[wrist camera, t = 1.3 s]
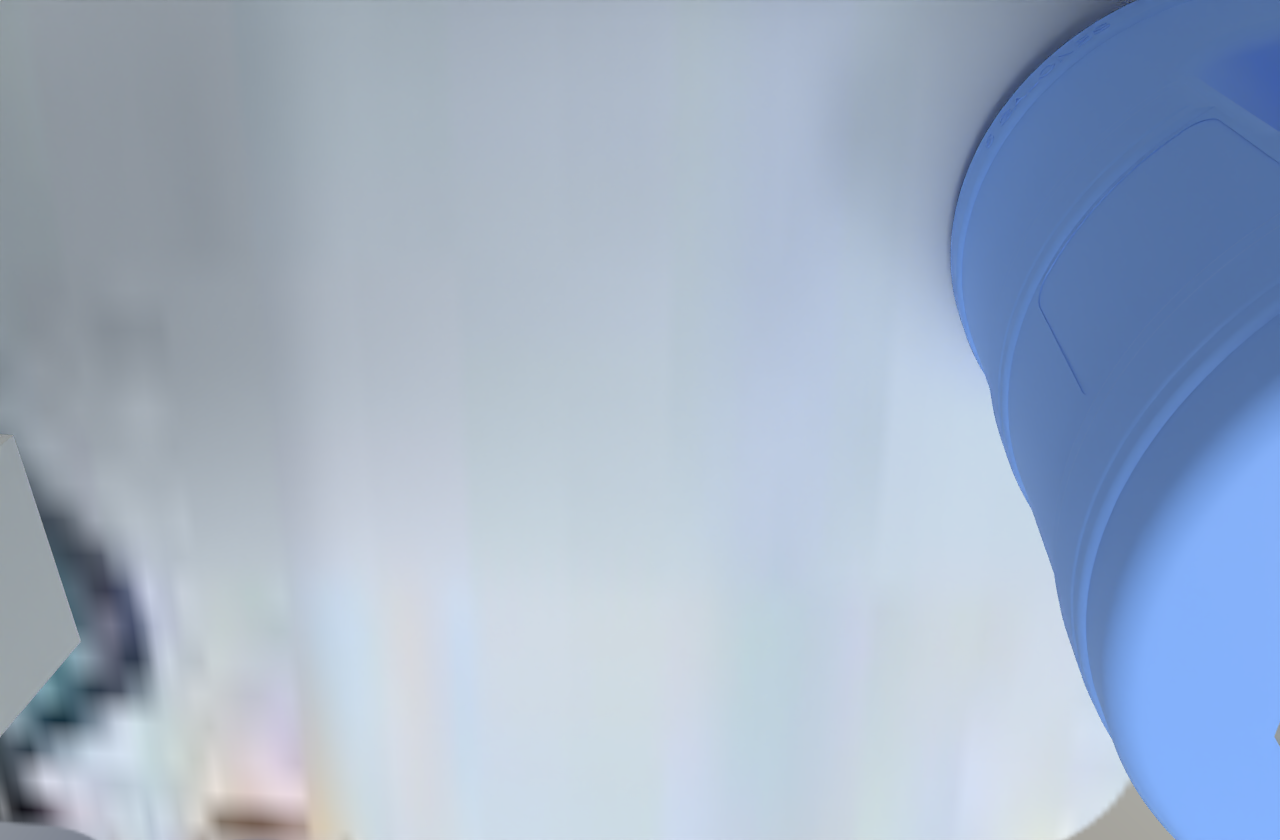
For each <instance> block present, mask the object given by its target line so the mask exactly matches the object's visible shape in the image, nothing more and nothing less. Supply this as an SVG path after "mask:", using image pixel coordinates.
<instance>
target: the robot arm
mask: <svg viewBox="0 0 1280 840" xmlns="http://www.w3.org/2000/svg"><path fill="white" fill-rule="evenodd" d="M80 642H81V640H80V637H79V634H78V631H77V628H76V625H75V622H74V619H73V616H72V613H71V610H70V606H69V603H68V600H67V597H66V594H65V591H64V588H63V585H62V582H61V579H60V576H59V573H58V570H57V567H56V564H55V561H54V558H53V554H52V551H51V548H50V545H49V542H48V539H47V536H46V533H45V530H44V527H43V524H42V521H41V518H40V515H39V512H38V509H37V505H36V502H35V499H34V496H33V493H32V490H31V487H30V484H29V481H28V478H27V475H26V472H25V469H24V466H23V463H22V460H21V457H20V453H19V450H18V447H17V444H16V441H15V438H14V435H2V434H0V737H1V735H2V734H3V733H4V732H5V731H6V729H7V728H8V727H9V726H10V725H11V724H12V722H13V721H14V720H15V719H16V718H17V716H18V715H19V714H20V713H21V712H22V711H23V709H24V708H25V707H26V706H27V705H28V703H29V702H30V701H31V700H32V699H33V698H34V696H35V695H36V694H37V693H38V692H39V690H40V689H41V688H42V687H43V686H44V685H45V683H46V682H47V681H48V680H49V679H50V677H51V676H52V675H53V674H54V673H55V672H56V670H57V669H58V668H59V667H60V666H61V664H62V663H63V662H64V661H65V660H66V659H67V657H68V656H69V655H70V654H71V653H72V651H73V650H74V649H75V648H76V647H77V645H78V644H79V643H80ZM1274 737H1275V739H1276V741H1277V742H1278V744H1279V746H1280V723H1279V726H1278V728H1277V731H1276V733H1275V736H1274Z"/></svg>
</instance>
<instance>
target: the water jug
mask: <svg viewBox="0 0 1280 840" xmlns="http://www.w3.org/2000/svg"><path fill="white" fill-rule="evenodd" d="M951 276H952V284H953V291H954V296H955V301H956V305H957V309H958V312H959V315H960V319H961V322H962V325H963V327H964V330H965V333H966V336H967V339H968V342H969V344H970V347H971V349H972V351H973V354H974V356H975V358H976V360H977V362H978V364H979V365H980V367H981V369H982V371H983V372H984V374H985V376H986V379H987V382H988V385H989V388H990V392H991V398H992V404H993V410H994V415H995V419H996V423H997V427H998V431H999V434H1000V437H1001V440H1002V443H1003V446H1004V449H1005V452H1006V455H1007V458H1008V461H1009V463H1010V466H1011V469H1012V471H1013V474H1014V476H1015V478H1016V481H1017V483H1018V485H1019V487H1020V489H1021V491H1022V493H1023V495H1024V497H1025V498H1026V500H1027V502H1028V504H1029V506H1030V507H1031V509H1032V511H1033V514H1034V517H1035V520H1036V523H1037V526H1038V529H1039V531H1040V534H1041V537H1042V540H1043V543H1044V546H1045V549H1046V552H1047V554H1048V557H1049V560H1050V563H1051V566H1052V569H1053V572H1054V575H1055V583H1056V589H1057V594H1058V599H1059V603H1060V608H1061V613H1062V617H1063V621H1064V624H1065V628H1066V631H1067V634H1068V637H1069V640H1070V643H1071V646H1072V649H1073V652H1074V655H1075V658H1076V660H1077V663H1078V666H1079V669H1080V672H1081V675H1082V678H1083V681H1084V683H1085V686H1086V688H1087V691H1088V693H1089V695H1090V698H1091V700H1092V702H1093V704H1094V706H1095V708H1096V710H1097V712H1098V715H1099V717H1100V719H1101V721H1102V723H1103V724H1104V726H1105V728H1106V730H1107V732H1108V733H1109V735H1110V737H1111V738H1112V740H1113V743H1114V745H1115V748H1116V751H1117V753H1118V755H1119V758H1120V760H1121V762H1122V764H1123V767H1124V769H1125V771H1126V773H1127V774H1128V776H1129V778H1130V780H1131V782H1132V784H1133V785H1134V787H1135V789H1136V790H1137V792H1138V793H1139V795H1140V796H1141V798H1142V799H1143V801H1144V802H1145V804H1146V805H1147V806H1148V808H1149V809H1150V810H1151V812H1152V813H1153V814H1154V816H1155V817H1156V818H1157V819H1158V821H1159V822H1160V823H1161V824H1162V825H1163V826H1164V828H1165V829H1166V830H1167V831H1168V832H1169V833H1170V834H1171V835H1172V836H1173V837H1174V838H1175V839H1176V840H1280V746H1279V744H1278V742H1277V741H1276V739H1275V737H1274V736H1275V733H1276V731H1277V728H1278V726H1279V723H1280V0H1136V1H1134V2H1132V3H1130V4H1128V5H1126V6H1124V7H1122V8H1120V9H1118V10H1116V11H1114V12H1112V13H1110V14H1109V15H1107V16H1105V17H1103V18H1102V19H1100V20H1098V21H1097V22H1095V23H1094V24H1092V25H1091V26H1089V27H1087V28H1086V29H1084V30H1083V31H1082V32H1080V33H1079V34H1077V35H1076V36H1075V37H1073V38H1072V39H1070V40H1069V41H1068V42H1067V43H1065V44H1064V45H1063V46H1061V47H1060V48H1059V49H1058V50H1057V51H1055V52H1054V53H1053V54H1052V55H1051V56H1050V57H1048V58H1047V59H1046V60H1045V61H1044V62H1043V63H1042V64H1041V65H1040V66H1039V67H1038V68H1037V69H1036V70H1035V71H1034V72H1033V73H1032V74H1031V75H1030V76H1029V77H1028V78H1027V79H1026V80H1025V81H1024V82H1023V83H1022V84H1021V86H1020V87H1019V88H1018V89H1017V90H1016V91H1015V93H1014V94H1013V95H1012V96H1011V98H1010V99H1009V100H1008V101H1007V103H1006V104H1005V105H1004V107H1003V108H1002V109H1001V111H1000V112H999V114H998V115H997V116H996V118H995V119H994V121H993V123H992V124H991V126H990V127H989V129H988V131H987V132H986V134H985V136H984V137H983V139H982V141H981V143H980V145H979V147H978V149H977V151H976V153H975V155H974V157H973V159H972V161H971V164H970V166H969V168H968V171H967V174H966V176H965V179H964V182H963V185H962V188H961V191H960V195H959V198H958V202H957V206H956V211H955V216H954V221H953V228H952V237H951Z"/></svg>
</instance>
